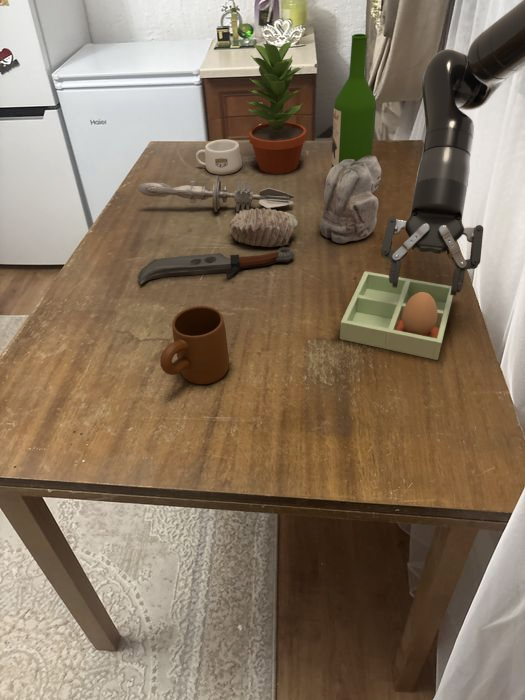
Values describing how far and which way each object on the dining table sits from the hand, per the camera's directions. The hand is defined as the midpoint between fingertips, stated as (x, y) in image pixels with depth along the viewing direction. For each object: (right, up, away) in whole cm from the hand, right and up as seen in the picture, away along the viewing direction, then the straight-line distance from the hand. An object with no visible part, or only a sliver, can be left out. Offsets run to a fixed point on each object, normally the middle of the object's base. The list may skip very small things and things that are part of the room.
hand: (423, 290), depth 81 cm
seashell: (-24, +14, +32) cm, 42 cm away
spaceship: (-34, +23, +42) cm, 59 cm away
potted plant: (-20, +39, +60) cm, 75 cm away
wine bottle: (-4, +28, +47) cm, 55 cm away
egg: (0, -7, +5) cm, 8 cm away
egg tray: (-2, -4, +9) cm, 10 cm away
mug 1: (-34, -13, +1) cm, 37 cm away
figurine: (-6, +16, +32) cm, 36 cm away
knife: (-33, +6, +23) cm, 41 cm away
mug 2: (-35, +39, +61) cm, 80 cm away
